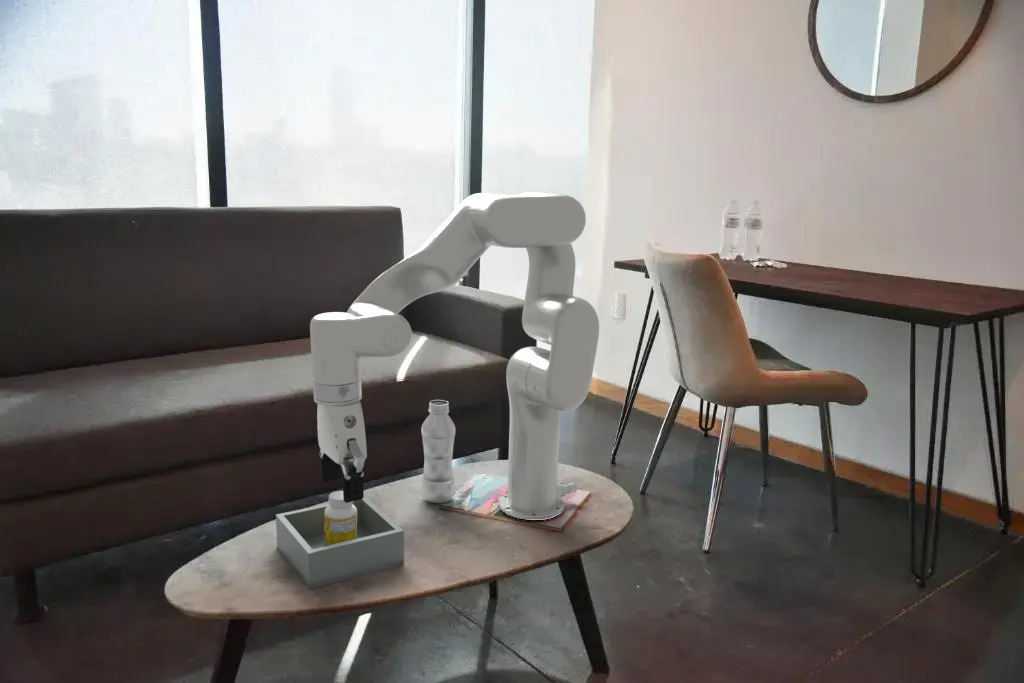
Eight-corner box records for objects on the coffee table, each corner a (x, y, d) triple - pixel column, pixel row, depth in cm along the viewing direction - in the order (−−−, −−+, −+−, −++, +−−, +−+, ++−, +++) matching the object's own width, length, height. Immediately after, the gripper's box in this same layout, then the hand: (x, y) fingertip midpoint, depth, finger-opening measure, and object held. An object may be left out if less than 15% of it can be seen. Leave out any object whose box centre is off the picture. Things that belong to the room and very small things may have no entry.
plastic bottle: (450, 509, 155) (451, 408, 151) (416, 505, 156) (416, 405, 152) (459, 495, 161) (460, 399, 157) (426, 492, 162) (427, 396, 158)
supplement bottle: (351, 557, 133) (352, 502, 131) (319, 555, 133) (320, 500, 131) (360, 543, 138) (361, 490, 136) (329, 540, 138) (329, 487, 136)
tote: (365, 527, 146) (364, 495, 145) (403, 564, 133) (403, 530, 132) (277, 547, 138) (275, 514, 136) (309, 589, 125) (308, 553, 123)
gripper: (381, 400, 124) (385, 503, 128) (339, 374, 138) (343, 468, 142) (335, 408, 120) (340, 514, 124) (296, 380, 134) (302, 477, 138)
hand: (342, 489), depth 133 cm, fingers open, 9 cm apart
